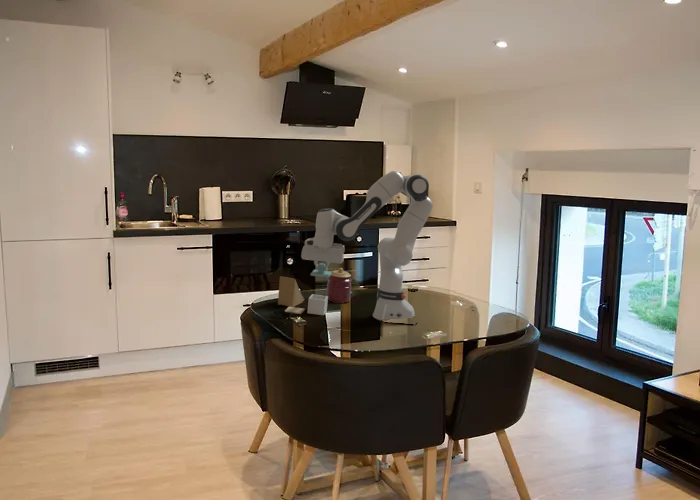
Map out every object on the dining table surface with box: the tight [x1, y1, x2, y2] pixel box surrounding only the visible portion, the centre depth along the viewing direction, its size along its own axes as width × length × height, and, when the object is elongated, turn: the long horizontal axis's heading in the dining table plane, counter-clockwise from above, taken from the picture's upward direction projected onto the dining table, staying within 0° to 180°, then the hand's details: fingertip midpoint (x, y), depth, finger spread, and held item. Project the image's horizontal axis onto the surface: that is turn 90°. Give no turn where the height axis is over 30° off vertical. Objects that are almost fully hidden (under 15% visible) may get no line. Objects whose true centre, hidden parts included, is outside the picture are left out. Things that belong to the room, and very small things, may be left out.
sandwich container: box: [277, 276, 305, 307], centre depth 320 cm, size 9×15×15 cm, turn 159°
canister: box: [325, 267, 353, 304], centre depth 334 cm, size 13×13×18 cm
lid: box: [310, 262, 332, 279], centre depth 305 cm, size 9×9×5 cm
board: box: [284, 306, 305, 315], centre depth 307 cm, size 8×8×1 cm
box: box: [306, 293, 329, 316], centre depth 308 cm, size 8×8×8 cm
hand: (321, 270), depth 305 cm, fingers closed on lid, 2 cm apart
